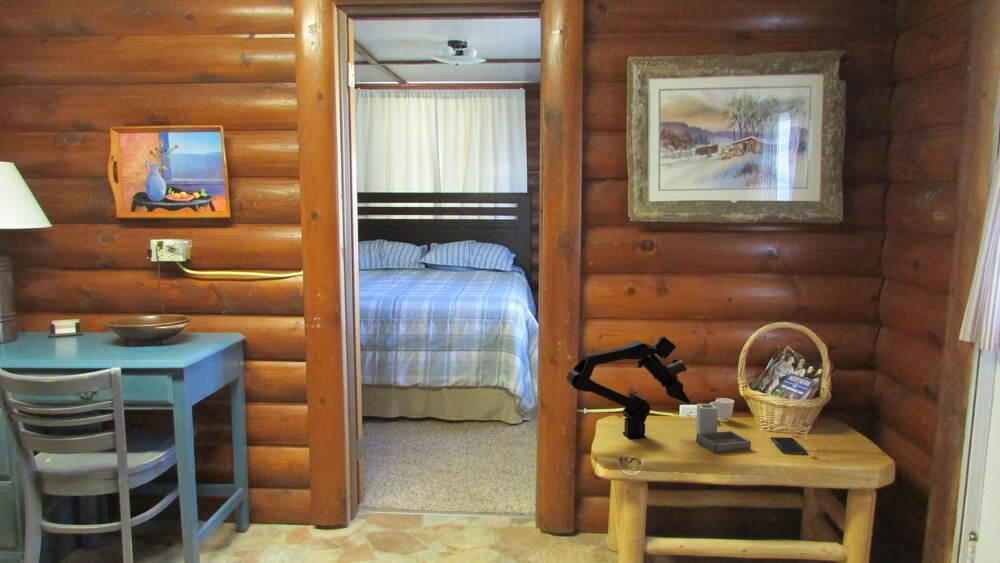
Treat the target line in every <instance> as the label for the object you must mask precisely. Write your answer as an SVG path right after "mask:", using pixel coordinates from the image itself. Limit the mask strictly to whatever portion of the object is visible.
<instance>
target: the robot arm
mask: <svg viewBox="0 0 1000 563" xmlns="http://www.w3.org/2000/svg"><path fill="white" fill-rule="evenodd" d="M676 349H677V346H676V344H674V342H672V341H670V339H668V338H666V336H665V335H661V336H660V337H659V338H658V340H656V341H655V342H654V343H653V345H651V344H647V343H645V342H642V341H640V340H633V341H630V342H628V343H625V344H624V345H623V346H621V347H617V348H611V349H607V350H602V351H597V352H593V353H589V352H588V353H586V354H585V355H584V356H583V357H582V359H581V360H580V361H579V362H578V363H576V364H575V366H574V367H573V368H572V370H570V371H569V372H568V373H567V374H566V381H567V384H569V385H570V386H571V387H572V388H573V389H575V390H577V391H581V392H587V393H593V394H595V395H598V396H600V397H602V398H605V399H606V400H609V401H611V402H613V403H615V404H618V405H621V406H623V407H624V408H623V409H622V410H621V412H622V415H623V417H625V418H624V423H623V424H624V431H622V432H621V433H623V434H622V435H624V436H625V437H626V436H627V437H626V438H628V439H630V440H633V439H634V440H636V439H643V438H644V439H645V438H646V437H647V436H646V435H645V434H646V420H647V418H648V415H649V414H650V412H651V404H649V403H648V402H647V399H646V398H644V397H643V396H641V395H636V394H635V393H633V392H632V391H630V392H629V394H624V393H621V392H619V391H618V390H614V389H613V388H610V387H607V386H606V385H604V384H600V383H599V382H596V381H594V380H592V379H591V377H592V374H593V373H594V369H595V367H596V366H598V365H604V364H608V363H614V362H617V361H622V360H623V361H624V360H635V362H636V365H635V367H636V369H641V368H642V367H643V368H644V369H646V371H647V372H648V373H649V374H650V375H651V376H652V377H653V379H655V380H656V381H658V383H659V384H660V386H661V387H662V388H664V392H665V394H667V395H668V396H669V398H672V399H675V400H679V401H681V402H684V403H685V404H690V403H691V400H690V399H689V397H688V396H687V393H686V392H685V391H684V384H683V383H682V381H681V380H680V379H679V377H678V374H680V373H683V372H687V370H688V368H687V366H686V364H685V362H684V360H682V359H678V358H676V357H675V358H672V359H671V363H670V364H669V365H667V364H666V363H663V362H662V361H661V360H662V359H664V360H666V359H667V358H669V357H670V355H672V353H673V352H674V351H675V350H676Z"/></svg>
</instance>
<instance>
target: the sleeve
mask: <svg viewBox="0 0 1000 563" xmlns="http://www.w3.org/2000/svg"><path fill="white" fill-rule="evenodd" d="M721 424H722V422H721V421H720V419H719V418H718V409H717V407H716V404H710V403H696V435H697V434H705V433H715V432H718V427H721Z"/></svg>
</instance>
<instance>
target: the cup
mask: <svg viewBox="0 0 1000 563" xmlns="http://www.w3.org/2000/svg"><path fill="white" fill-rule="evenodd" d="M709 404H714V405H715V406H716V407H717V409H718V416H717V419H724V420H728V419H729V420H731V418H732V415H733V410H734V406H735V400H733V399H731V398H726V397H717V398H716V399H715V400H714V401H712V402H710V403H709Z"/></svg>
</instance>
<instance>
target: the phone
mask: <svg viewBox="0 0 1000 563" xmlns="http://www.w3.org/2000/svg"><path fill="white" fill-rule="evenodd" d="M771 440H772V441H773V442H774V443H775V444H774V443H773V442H772V441H771ZM770 441H771V442H772V443H773V444H774V445H775V447H776V448H777V449H779V451H780V452H781V453H782V454H783V455H797V456H798V455H799V456H800V455H801V456H806V455H808V451H807V449H805V448H804V447H803V446H802V445H801V444H800V443H799V441H797V440H796V439H795V438H793V437H785V436H784V437H782V436H781V437H777V436H773V437H770Z"/></svg>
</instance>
